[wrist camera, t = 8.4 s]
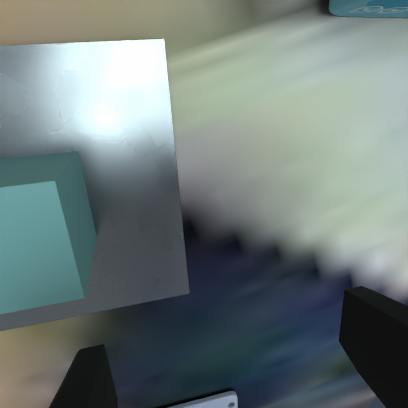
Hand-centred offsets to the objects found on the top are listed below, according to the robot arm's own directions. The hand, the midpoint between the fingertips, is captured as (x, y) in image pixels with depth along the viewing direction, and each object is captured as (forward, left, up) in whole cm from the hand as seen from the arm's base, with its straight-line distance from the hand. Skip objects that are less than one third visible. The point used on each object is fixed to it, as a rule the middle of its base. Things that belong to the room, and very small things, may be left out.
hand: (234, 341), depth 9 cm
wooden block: (+3, +6, -7) cm, 10 cm away
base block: (+3, +6, -9) cm, 12 cm away
